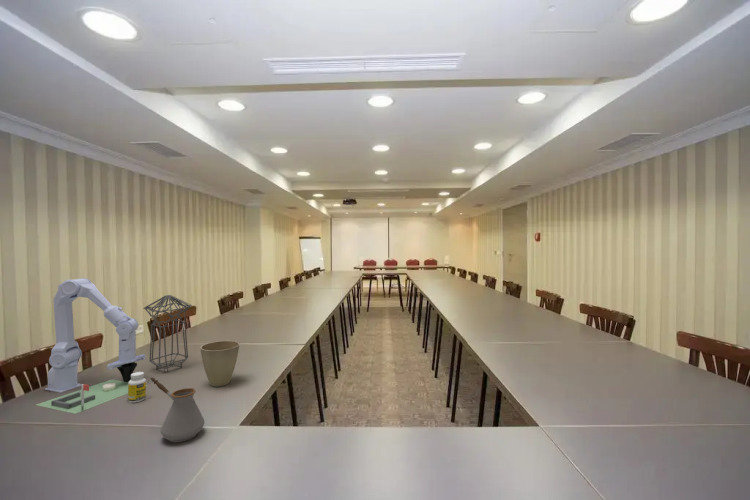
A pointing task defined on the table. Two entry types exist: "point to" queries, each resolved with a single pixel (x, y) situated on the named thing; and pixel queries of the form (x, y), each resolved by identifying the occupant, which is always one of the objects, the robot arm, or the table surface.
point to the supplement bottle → (137, 387)
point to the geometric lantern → (163, 299)
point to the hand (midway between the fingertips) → (126, 381)
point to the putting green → (93, 390)
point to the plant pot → (219, 361)
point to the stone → (109, 387)
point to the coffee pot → (181, 415)
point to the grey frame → (62, 401)
